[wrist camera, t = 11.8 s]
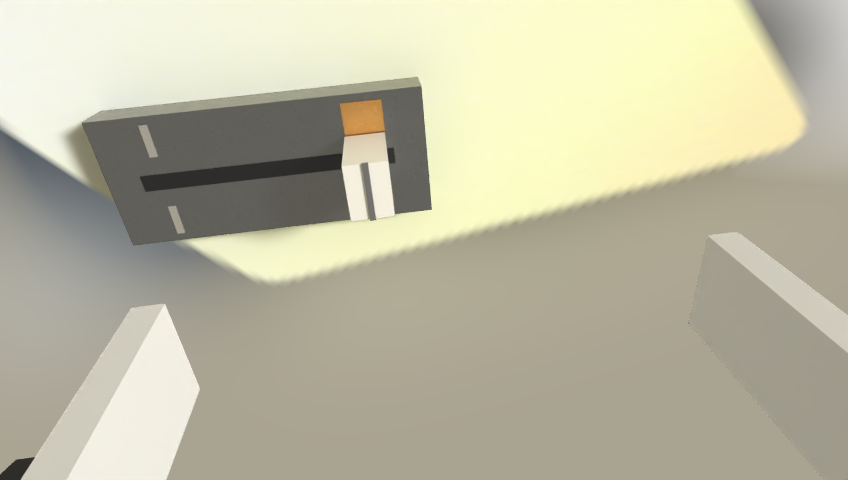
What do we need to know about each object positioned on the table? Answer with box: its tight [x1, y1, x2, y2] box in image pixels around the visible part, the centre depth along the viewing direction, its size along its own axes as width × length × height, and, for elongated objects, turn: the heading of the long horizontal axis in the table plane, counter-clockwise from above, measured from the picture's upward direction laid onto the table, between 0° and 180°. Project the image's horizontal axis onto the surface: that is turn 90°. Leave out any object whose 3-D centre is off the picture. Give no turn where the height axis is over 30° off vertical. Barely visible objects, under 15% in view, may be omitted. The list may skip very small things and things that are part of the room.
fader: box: [342, 132, 395, 221], centre depth 37 cm, size 4×3×6 cm
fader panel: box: [82, 77, 432, 245], centre depth 41 cm, size 10×24×3 cm, turn 95°
